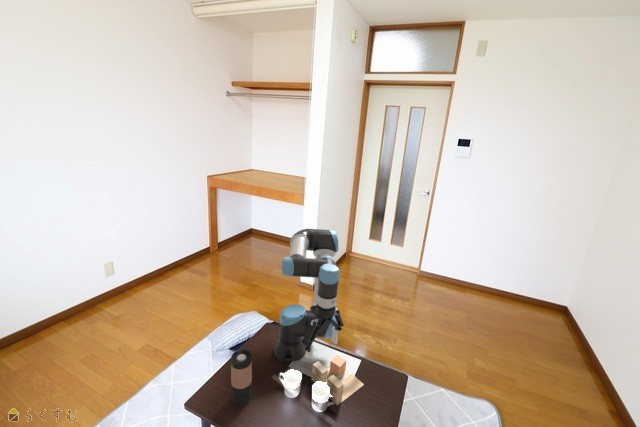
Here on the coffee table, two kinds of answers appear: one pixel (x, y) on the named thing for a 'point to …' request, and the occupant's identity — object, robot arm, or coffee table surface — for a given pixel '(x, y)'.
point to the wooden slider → (323, 372)
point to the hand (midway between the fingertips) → (322, 349)
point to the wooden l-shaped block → (343, 387)
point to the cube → (337, 365)
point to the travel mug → (241, 377)
